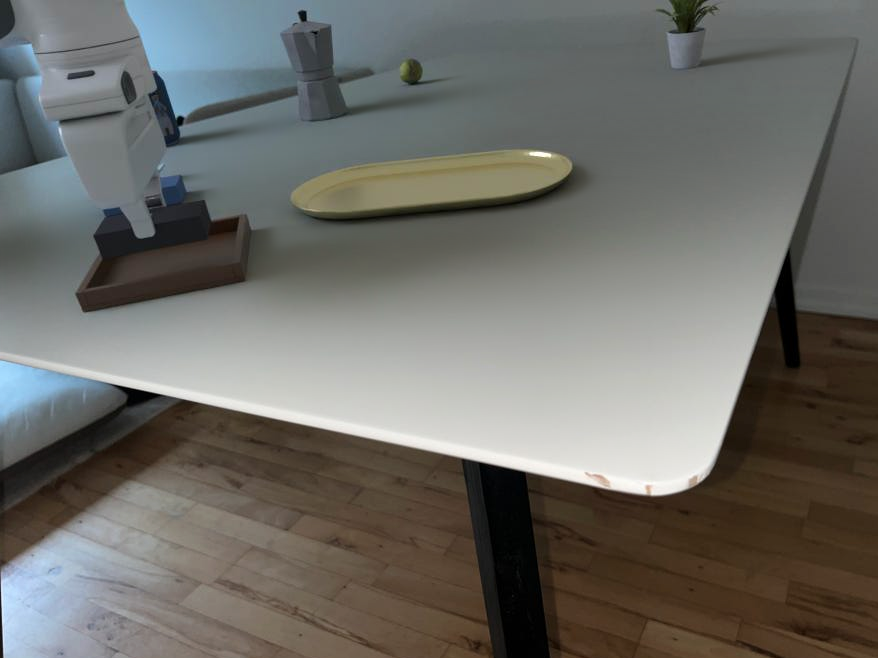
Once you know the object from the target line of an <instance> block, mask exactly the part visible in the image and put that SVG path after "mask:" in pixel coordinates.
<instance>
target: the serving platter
mask: <svg viewBox="0 0 878 658" xmlns="http://www.w3.org/2000/svg"><path fill="white" fill-rule="evenodd" d="M573 169H574V168H573V163H572V161H571V160H570V159H569V158H568V157H567V156H565V155H562V154H559V153H556V152H553V151H549V150H548V151H547V150H541V149H540V150H539V149H520V148H519V149H501V150H500V149H499V150H491V151H482V152H481V151H480V152H471V153H470V152H469V153H462V154H452V155H441V156H432V157H431V156H430V157H423V158H413V159H404V160H393V161H383V162H374V163H366V164H360V165H355V166H350V167H345V168H341V169H337V170H334V171H331V172H326V173H324V174H321V175H319V176H316V177H314V178H312V179H309V180H308V181H305V182H303V183H302V184H301V185H299V186H298V187H296V188H295V189H294V190H293V191H292V192H291V195H290V199H289V200H290V203H291V205H292V206H293V207H294V208H295V209H296V210H298V211H300V212H301V213H302V214H305V215H308V216H310V217H314V218H318V219H325V220H357V219H367V218H368V219H369V218H377V217H386V216H387V217H388V216H397V215H399V216H400V215H408V214H420V213H426V212H427V213H430V212H439V211H451V210H462V209H472V208H481V207H482V208H483V207H492V206H502V205H508V204H509V205H510V204H513V203H520V202H523V201H527V200H531V199H534V198H537V197H541V196H542V195H545V194H547V193H550V192H551V191H553V190H555V189H557V188H559V187H560V186H562V184H563V183H564V182H566V180H567V179H568V178H569V177H570V175H571V173H572V171H573Z"/></svg>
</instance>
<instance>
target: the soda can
mask: <svg viewBox="0 0 878 658" xmlns="http://www.w3.org/2000/svg"><path fill="white" fill-rule="evenodd" d="M152 73H153V76H154V79H155V83H156V86H157V89H156V90H155V91H154V92H152V93H149V94H148V96H149V99H150V101H151V104H152V106H153V109H154V112H155V114H156V117H157V120H158V122H159V125H160V128H161V131H162V134H163V136H164V140H165V144H166V147H169V146H173V145H176V144H177V143H179V141H180V137H181V130H180V127H179V124H178V120H177V118H176V115H175V112H174V108H173V105H172V102H171V99H170V95H169V92H168V89H167V86H166V83H165V81H164V79H163V78H162V77H161V76H160V74H158V70H152Z"/></svg>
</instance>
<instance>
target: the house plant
mask: <svg viewBox="0 0 878 658" xmlns="http://www.w3.org/2000/svg"><path fill="white" fill-rule="evenodd" d="M668 1H669V2H670V5H671V7H672V8H673V10H674V11H672V12H673V13H670V11H668V10H666V9H664V8H656V9H654V10H653V11H652V12H653V13H654V12H657V13H662V14H665V15H667V16H669V17H670V19H669V22H668V23H669V24H668V25H670V24H671V23H672V22H674V24H675V26H676V28H673V29H669V30H668V31H666V38H667V44H668V51H669V58H670V64H671V68H672V69H677V70H682V69H683V70H685V69H694V68H697V67H699V66H700V65H701V60H702V59H701V58H702V55H703V50H704V49H703V48H704V44H705V38H706V33H707V28H705V27H699V26H698V24H699V23H700V22H701V20H702V19H703V18H704V17H705V16H706V15H707V13H710V14H712V16H713V17H714V18H716V16H715V12H714V11H718V12H720V11H721V12H722V10H720V9H719V8H718V7H717V5H718V4H722V3H724V1H720V2H717V3H715V4H713V5H712V6H711V5H705V6H703V7H702V5H703V4H704V3H706V2H708V1H709V0H668Z"/></svg>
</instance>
